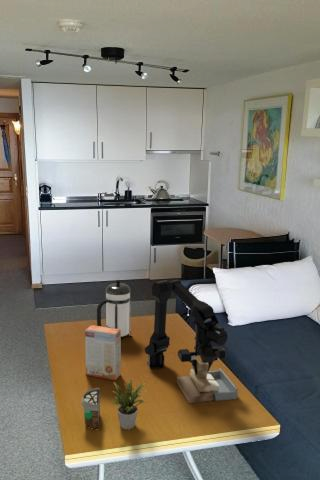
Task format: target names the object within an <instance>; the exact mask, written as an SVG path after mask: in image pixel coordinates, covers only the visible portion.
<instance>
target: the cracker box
mask: <svg viewBox="0 0 320 480" xmlns="http://www.w3.org/2000/svg"><path fill="white" fill-rule="evenodd" d="M101 326H102V325H101ZM101 326H97V325H94V324H92V325H90V326H88V327H87V328H86V329H85V330H84V333H85V334H84V335H85V337H84V338H85V339H84V340H85V341H84V342H85V375H86V376H90V377H95V378H99V379H106V380H111V381H117V379H118V378H119V377H120V376H121V372H122V371H121V369H122V367H121V363H122V360H121V356H122V355H121V353H122V347H121V344H122V343H121V342H122V339H121V338H122V337H121V329H114V328H108V327H106V326H102V327H101Z"/></svg>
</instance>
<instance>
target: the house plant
mask: <svg viewBox="0 0 320 480" xmlns="http://www.w3.org/2000/svg"><path fill="white" fill-rule="evenodd" d="M123 382H124V387H125V394H126V396H125V395H124V394H123V391H122V388H121V387H120V386H119V385H118V384H117V383H116V382H115V381H113V382H112V383H113V384H114V386H115V388H116V390H117V392H116V391H114V390H112V392H113V393H114V394H115V395H116V396H114V399H115V400H114V401H112V402H111V403H110V405H119V406H118V407H117V408H116V409H117V414H118V423H119V426H121V427H122V428H121V427H120V428H121V429H123V428H124V429H123V430H126V429H129V430H131V429H130V428H132V429H134V428H135V426H136V420H137V417H138V412H139V411H138V410H139V409H138V405H140V404H142V403H143V404H144V403H145V404H146V401H144V400H143V399H138V398H140V397H144V395H140V393H143V392H148V390H145V389H142V388H143V387H144V385H145V384H147V381H145V382H143V383H142V384H140V385H138V386H135V387H133V378H131V379H130V380H129V382H128V385H127V384H126V383H125V381H123ZM134 389H135V390H134ZM141 389H142V390H141ZM133 390H134V392H133ZM136 403H137V404H136ZM135 404H136V405H135ZM133 427H134V428H133Z"/></svg>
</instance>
